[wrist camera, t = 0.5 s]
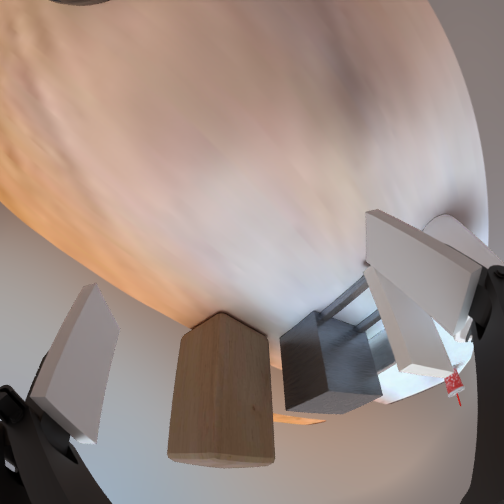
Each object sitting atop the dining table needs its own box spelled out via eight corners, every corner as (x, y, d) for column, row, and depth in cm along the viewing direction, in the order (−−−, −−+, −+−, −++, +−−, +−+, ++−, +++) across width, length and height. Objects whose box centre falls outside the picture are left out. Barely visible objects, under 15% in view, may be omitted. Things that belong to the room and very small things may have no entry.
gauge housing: (368, 261, 31) (404, 346, 21) (427, 300, 36) (455, 362, 27) (279, 338, 40) (285, 410, 31) (349, 357, 46) (361, 414, 37)
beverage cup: (452, 369, 63) (464, 405, 52) (438, 376, 64) (449, 412, 53) (459, 361, 59) (472, 399, 48) (444, 368, 60) (456, 407, 49)
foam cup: (416, 206, 25) (480, 293, 16) (471, 200, 25) (533, 272, 15) (402, 268, 32) (442, 352, 22) (454, 257, 31) (496, 328, 21)
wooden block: (270, 336, 40) (278, 465, 25) (227, 357, 44) (224, 468, 29) (220, 307, 35) (213, 461, 20) (179, 334, 40) (163, 459, 24)
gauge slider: (371, 264, 29) (412, 363, 19) (431, 303, 35) (462, 373, 25) (340, 292, 32) (366, 389, 22) (406, 323, 38) (431, 393, 28)
